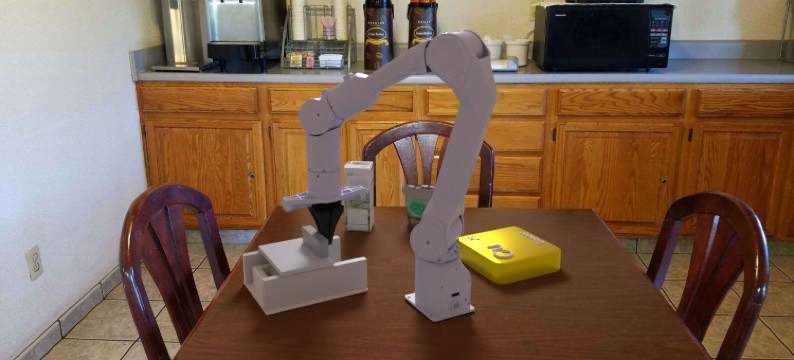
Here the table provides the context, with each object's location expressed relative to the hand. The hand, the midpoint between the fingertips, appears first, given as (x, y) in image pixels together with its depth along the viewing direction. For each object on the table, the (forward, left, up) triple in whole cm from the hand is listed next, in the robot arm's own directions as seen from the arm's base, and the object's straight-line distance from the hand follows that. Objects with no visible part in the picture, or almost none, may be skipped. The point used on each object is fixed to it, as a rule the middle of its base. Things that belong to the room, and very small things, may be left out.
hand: (326, 243), depth 111 cm
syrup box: (+22, -17, -8) cm, 29 cm away
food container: (+14, -29, -8) cm, 33 cm away
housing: (0, +4, -7) cm, 9 cm away
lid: (0, +6, -2) cm, 6 cm away
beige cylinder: (0, +8, -7) cm, 11 cm away
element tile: (-8, -34, -8) cm, 36 cm away
